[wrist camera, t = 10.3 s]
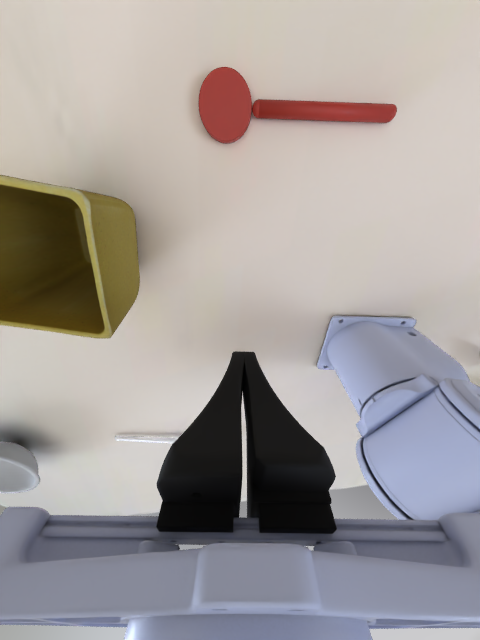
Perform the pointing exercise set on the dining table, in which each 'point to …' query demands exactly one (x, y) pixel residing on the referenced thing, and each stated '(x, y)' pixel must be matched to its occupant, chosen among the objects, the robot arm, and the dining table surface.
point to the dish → (17, 468)
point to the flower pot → (65, 259)
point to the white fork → (147, 439)
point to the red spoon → (270, 107)
